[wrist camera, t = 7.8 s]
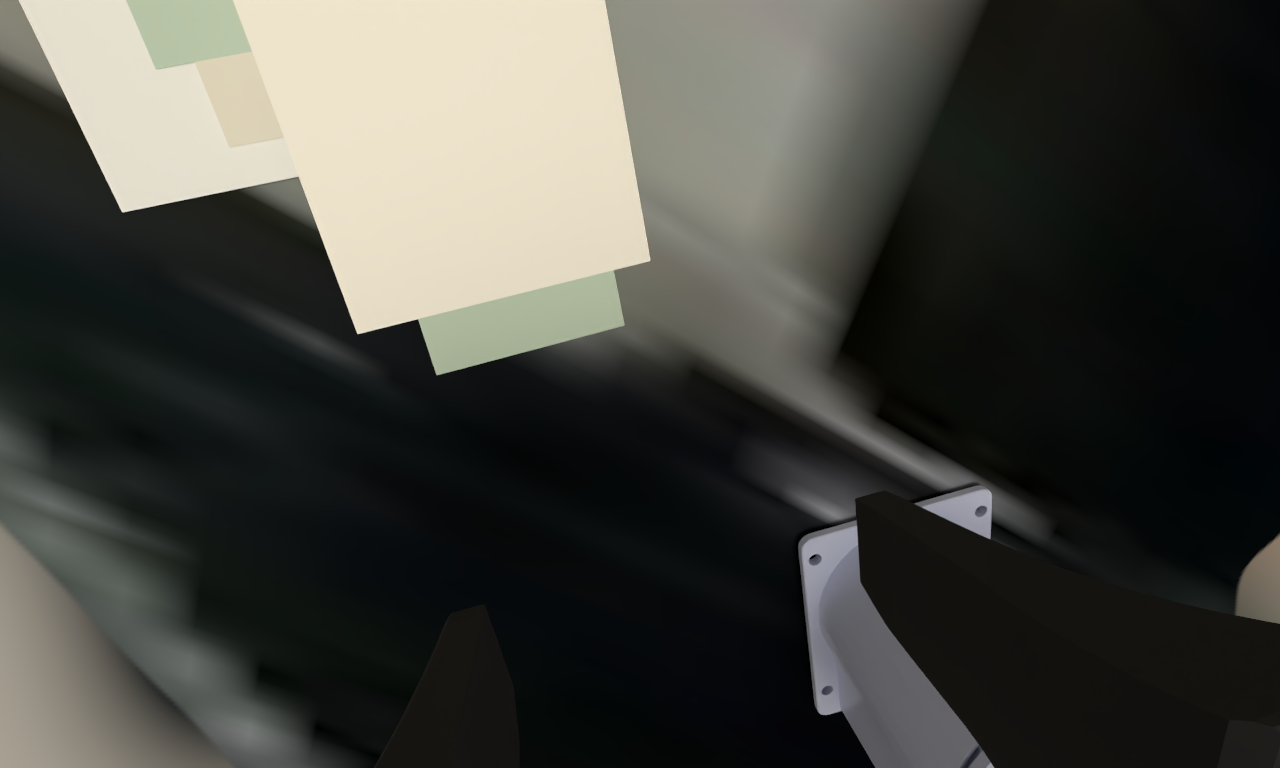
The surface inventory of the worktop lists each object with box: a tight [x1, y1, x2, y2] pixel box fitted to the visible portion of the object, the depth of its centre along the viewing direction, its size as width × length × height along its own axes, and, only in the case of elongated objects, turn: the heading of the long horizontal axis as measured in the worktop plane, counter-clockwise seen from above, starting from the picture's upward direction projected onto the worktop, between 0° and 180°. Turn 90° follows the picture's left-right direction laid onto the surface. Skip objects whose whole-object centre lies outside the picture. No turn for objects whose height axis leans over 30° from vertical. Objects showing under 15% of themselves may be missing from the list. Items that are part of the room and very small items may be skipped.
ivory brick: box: [233, 0, 651, 334], centre depth 12 cm, size 4×4×5 cm
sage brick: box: [418, 270, 625, 375], centre depth 16 cm, size 9×4×5 cm, turn 10°
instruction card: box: [19, 0, 299, 212], centre depth 17 cm, size 6×8×1 cm
